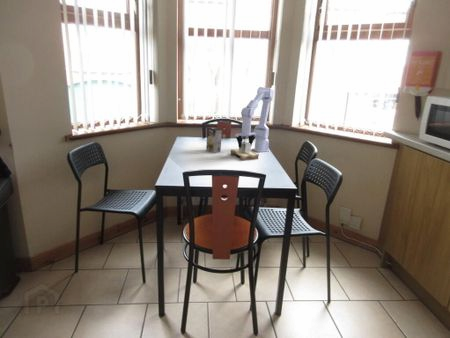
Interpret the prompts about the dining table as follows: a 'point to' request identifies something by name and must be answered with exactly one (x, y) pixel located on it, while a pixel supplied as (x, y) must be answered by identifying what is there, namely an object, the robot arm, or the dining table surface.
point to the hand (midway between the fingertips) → (244, 147)
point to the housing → (245, 147)
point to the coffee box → (214, 139)
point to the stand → (245, 156)
